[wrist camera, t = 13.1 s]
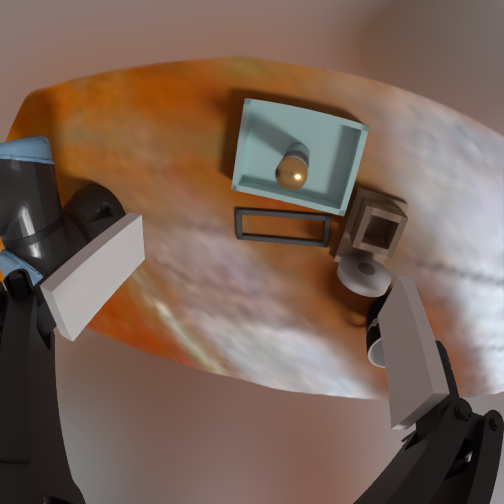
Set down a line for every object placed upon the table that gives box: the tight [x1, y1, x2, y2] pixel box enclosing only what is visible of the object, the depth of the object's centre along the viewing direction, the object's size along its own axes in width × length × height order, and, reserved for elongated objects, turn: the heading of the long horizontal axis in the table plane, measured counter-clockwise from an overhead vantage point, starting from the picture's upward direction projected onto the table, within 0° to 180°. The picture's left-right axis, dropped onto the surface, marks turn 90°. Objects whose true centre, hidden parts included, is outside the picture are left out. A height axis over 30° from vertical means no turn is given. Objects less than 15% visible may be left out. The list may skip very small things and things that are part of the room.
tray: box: [231, 98, 369, 217], centre depth 34 cm, size 16×13×3 cm
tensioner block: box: [334, 187, 408, 297], centre depth 35 cm, size 8×12×9 cm, turn 171°
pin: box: [275, 143, 310, 190], centre depth 30 cm, size 3×3×12 cm
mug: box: [366, 296, 388, 368], centre depth 41 cm, size 12×9×10 cm
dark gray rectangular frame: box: [236, 209, 331, 247], centre depth 41 cm, size 14×5×1 cm, turn 91°
